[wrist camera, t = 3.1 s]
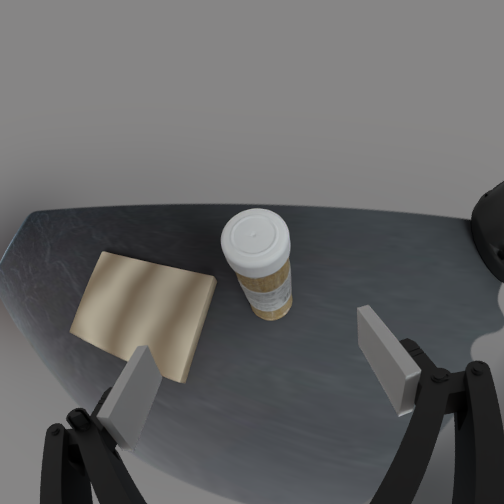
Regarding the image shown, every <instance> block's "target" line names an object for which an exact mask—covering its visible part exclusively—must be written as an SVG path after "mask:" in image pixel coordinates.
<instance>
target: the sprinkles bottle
mask: <svg viewBox="0 0 504 504" xmlns="http://www.w3.org/2000/svg"><path fill="white" fill-rule="evenodd" d="M221 247H222V250H223V253H224V255H225V257H226V260H227V262H228V264H229V265H230V267H231V268H232V269H233V270H234V271H235V272H236V274H237V277H238V281H239V283H240V285H241V287H242V289H243V291H244V293H245V295H246V297H247V299H248V301H249V302H250V305H251V308H252V310H253V311H254V313H255V314H256V315H257V316H258V317H260V318H262V319H265V320H277V319H279V318H281V317H283V316H284V315H286V314H287V312H288V311H289V310H290V307H291V305H292V294H291V270H290V262H289V253H290V237H289V230H288V227H287V225H286V223H285V222H284V220H283V219H282V218H281V217H280V216H279V215H277V214H276V213H274V212H272V211H269V210H266V209H259V208H258V209H249V210H245V211H243V212H240V213H238V214H237V215H235V216H234V217H233V218H231V219H230V220H229V221H228V223H227V224H226V225H225V227H224V229H223V232H222V235H221Z"/></svg>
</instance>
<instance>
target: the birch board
mask: <svg viewBox="0 0 504 504" xmlns="http://www.w3.org/2000/svg"><path fill="white" fill-rule="evenodd" d="M216 284H217V280H216V279H215V277H214V276H210V275H205V274H201V273H196V272H191V271H187V270H182V269H177V268H173V267H168V266H164V265H159V264H155V263H150V262H146V261H141V260H137V259H133V258H128V257H124V256H120V255H116V254H112V253H107V252H102V254H101V256H100V258H99V260H98V262H97V264H96V267H95V269H94V271H93V273H92V276H91V278H90V280H89V283H88V285H87V287H86V290H85V292H84V295H83V297H82V300H81V302H80V305H79V308H78V310H77V313H76V315H75V318H74V321H73V324H72V327H71V329H70V333H72V334H74V335H76V336H78V337H79V338H81V339H83V340H85V341H87V342H89V343H91V344H93V345H95V346H97V347H99V348H101V349H103V350H105V351H107V352H109V353H111V354H113V355H115V356H117V357H119V358H121V359H124V360H126V361H129V359H130V358H131V356H132V354H133V353H134V351H135V350H136V348H137V346H144V345H148V347H149V349H150V352H151V354H152V356H153V358H154V361H155V363H156V365H157V367H158V369H159V371H160V374H161V376H164V377H166V378H169V379H171V380H174V381H177V382H180V383H185V382H186V379H187V376H188V372H189V369H190V366H191V363H192V359H193V356H194V353H195V350H196V346H197V343H198V340H199V337H200V334H201V331H202V327H203V324H204V321H205V318H206V315H207V312H208V309H209V306H210V303H211V299H212V296H213V293H214V290H215V287H216Z"/></svg>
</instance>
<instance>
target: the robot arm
mask: <svg viewBox="0 0 504 504" xmlns="http://www.w3.org/2000/svg"><path fill="white" fill-rule="evenodd" d="M471 227H472V233H473V237H474V241H475V244H476V246H477V249H478V251H479V253H480V255H481V257H482V259H483V260H484V262H485V264H486V265H487V266H488V268H489V269H490V270H491V272H492V273H493V274H494V275H495V276H496V277H497V278H498V279H499V280H500V281H502V282H503V283H504V181H503V182H502V183H500V184H499V185H497V186H496V187H495V188H493V190H490V191H488V192H487V193H485V194H484V195H483V196H482V197H481V198H480V200H479V201H478V203H477V204H476V206H475V207H474V210H473V212H472V217H471ZM357 319H358V345H359V347H360V349H361V350H362V352H363V354H364V355H365V357H366V359H367V361H368V362H369V364H370V366H371V368H372V369H373V371H374V373H375V375H376V376H377V378H378V380H379V382H380V383H381V385H382V387H383V389H384V391H385V392H386V394H387V396H388V398H389V400H390V402H391V403H392V405H393V407H394V409H395V411H396V413H397V414H398V416H401V415H404V414H406V413H409V412H411V411H413V407H414V403H415V405H416V407H415V410H414V413H413V415H412V418H411V420H410V423H409V426H408V428H407V431H406V433H405V435H404V438H403V440H402V442H401V445H400V447H399V449H398V451H397V453H396V456H395V458H394V460H393V462H392V464H391V466H390V468H389V470H388V472H387V474H386V476H385V478H384V479H383V481H382V483H381V485H380V487H379V488H378V490H377V492H376V494H375V495H374V497H373V499H372V501H371V502H370V504H411V503H412V501H413V499H414V496H415V494H416V492H417V490H418V487H419V485H420V483H421V481H422V478H423V476H424V474H425V471H426V468H427V466H428V463H429V460H430V457H431V455H432V452H433V449H434V446H435V443H436V440H437V437H438V434H439V430H440V427H441V423H442V420H443V416H444V414H450V413H454V422H455V474H454V488H453V498H452V504H504V431H503V425H502V419H501V414H500V409H499V404H498V399H497V394H496V390H495V386H494V382H493V379H492V375H491V372H490V368H489V366H488V365H487V364H486V363H485V362H482V361H473V362H471V363H469V364H468V365H467V367H466V370H465V371H462V372H457V373H450V372H449V371H448V370H446V369H444V368H437V367H436V366H435V364H434V363H433V362H432V361H431V360H430V358H429V357H428V356H427V355H426V354H425V353H424V351H423V350H422V349H420V347H419V346H418V345H417V343H416V342H414V341H412V340H410V339H408V338H407V339H404V340H401V341H398V340H397V339H396V337H395V336H394V335H393V334H392V333H391V331H390V330H389V329H388V328H387V326H386V325H385V324H384V323H383V322H382V320H381V319H380V318H379V317H378V316H377V314H376V313H375V312H374V311H373V310H372V308H371V307H370V306H369V305H366V306H362V307H358V308H357ZM161 380H162V376H161V374H160V371H159V369H158V367H157V365H156V363H155V361H154V358H153V356H152V354H151V352H150V349H149V347H148V345H144V346H137V348H136V350H135V351H134V353H133V354H132V356H131V358H130V359H129V361H128V363H127V364H126V366H125V368H124V369H123V371H122V373H121V375H120V376H119V378H118V380H117V381H116V383H115V385H114V386H113V387H110V388H109V389H108V390H106V391H105V392H104V394H103V395H102V397H101V400H99V402H98V404H97V406H96V407H95V409H94V411H93V412H92V414H91V416H89V414H88V413H87V412H86V410H85V409H83V408H76V409H74V410H72V411H71V412H70V413H69V414H68V415H67V418H66V420H67V422H68V423H69V424H70V426H71V427H72V428H73V429H65V428H64V426H63V425H62V424H60V423H56V424H53V425H51V426H50V427H49V428H48V429H47V432H46V437H45V444H44V452H43V460H42V471H41V486H40V504H93V501H92V492H91V484H92V486H93V489H94V491H95V494H96V496H97V498H98V501H99V503H100V504H147V503H146V502H145V500H144V498H143V497H142V495H141V494H140V492H139V490H138V489H137V487H136V485H135V484H134V482H133V480H132V478H131V476H130V475H129V473H128V471H127V469H126V467H125V465H124V464H123V461H122V459H121V457H120V456H119V453H118V452H117V451H116V449H115V447H116V445H117V444H118V445H119V447H120V448H121V449H122V450H124V451H135V448H136V445H137V442H138V440H139V437H140V434H141V432H142V429H143V426H144V424H145V421H146V419H147V416H148V413H149V411H150V408H151V406H152V403H153V400H154V398H155V395H156V393H157V390H158V388H159V385H160V383H161ZM90 481H91V482H90Z"/></svg>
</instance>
